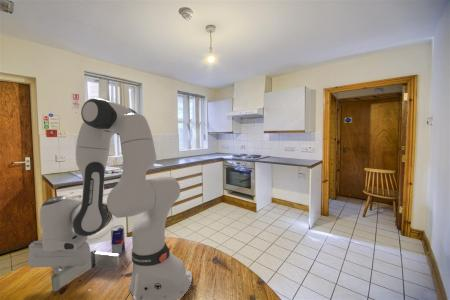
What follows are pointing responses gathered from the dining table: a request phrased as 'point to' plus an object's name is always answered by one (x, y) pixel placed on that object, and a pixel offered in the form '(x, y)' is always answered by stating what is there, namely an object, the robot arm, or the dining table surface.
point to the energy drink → (118, 240)
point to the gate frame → (104, 260)
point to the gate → (68, 275)
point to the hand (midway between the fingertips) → (61, 275)
